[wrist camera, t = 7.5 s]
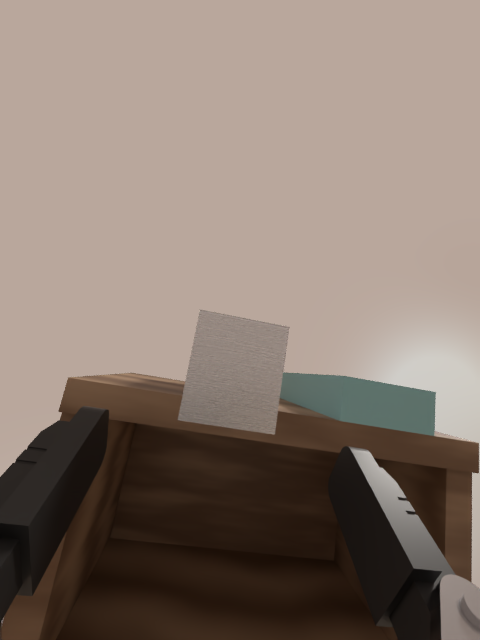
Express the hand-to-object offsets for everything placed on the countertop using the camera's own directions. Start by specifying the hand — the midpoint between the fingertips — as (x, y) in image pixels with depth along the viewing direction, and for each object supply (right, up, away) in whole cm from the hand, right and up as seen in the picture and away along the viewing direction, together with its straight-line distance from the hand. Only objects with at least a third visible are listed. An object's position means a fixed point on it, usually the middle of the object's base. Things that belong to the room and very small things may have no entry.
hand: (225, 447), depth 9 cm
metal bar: (-1, -1, +10) cm, 10 cm away
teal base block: (+10, -4, +17) cm, 20 cm away
